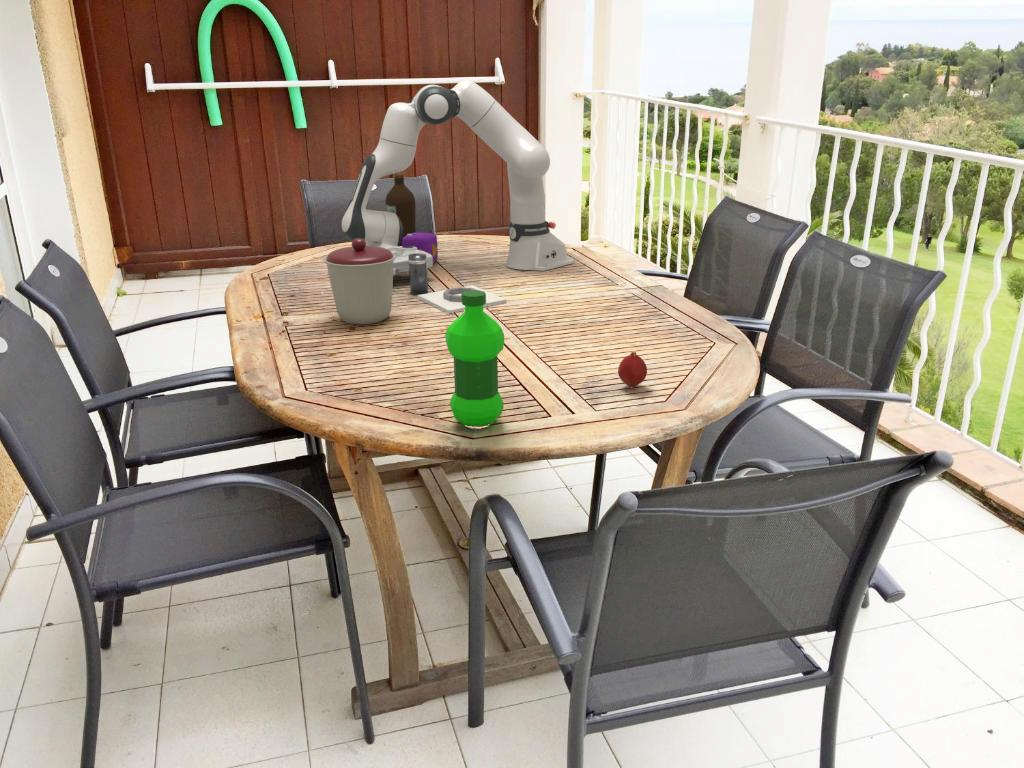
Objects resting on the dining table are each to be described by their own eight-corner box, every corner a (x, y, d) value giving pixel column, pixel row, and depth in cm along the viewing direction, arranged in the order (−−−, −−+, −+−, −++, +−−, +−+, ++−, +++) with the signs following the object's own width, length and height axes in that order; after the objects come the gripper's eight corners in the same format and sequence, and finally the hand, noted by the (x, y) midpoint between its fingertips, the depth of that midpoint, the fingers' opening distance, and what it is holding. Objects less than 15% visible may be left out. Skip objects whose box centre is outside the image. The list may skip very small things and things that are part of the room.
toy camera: (442, 257, 274) (440, 228, 270) (434, 267, 261) (433, 236, 257) (410, 257, 275) (409, 227, 271) (401, 267, 262) (399, 236, 258)
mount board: (473, 288, 237) (472, 280, 236) (506, 302, 223) (506, 294, 222) (418, 298, 228) (417, 289, 227) (449, 314, 214) (448, 305, 213)
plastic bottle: (453, 411, 155) (448, 285, 146) (508, 413, 154) (506, 286, 145) (444, 434, 146) (438, 300, 137) (502, 436, 145) (500, 301, 136)
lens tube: (423, 289, 236) (421, 252, 232) (431, 293, 232) (429, 255, 228) (407, 292, 234) (404, 254, 230) (415, 296, 230) (413, 258, 226)
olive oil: (408, 239, 301) (404, 170, 291) (423, 244, 293) (419, 173, 283) (383, 243, 295) (378, 173, 286) (396, 248, 287) (392, 176, 278)
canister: (357, 305, 222) (350, 229, 214) (413, 313, 214) (408, 234, 207) (315, 324, 207) (306, 242, 199) (373, 333, 199) (366, 249, 192)
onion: (614, 383, 168) (616, 346, 165) (642, 381, 168) (644, 345, 165) (620, 393, 163) (622, 356, 160) (648, 392, 163) (651, 355, 160)
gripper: (357, 254, 239) (377, 263, 228) (419, 245, 249) (441, 254, 238) (359, 275, 241) (378, 285, 231) (420, 265, 252) (442, 274, 241)
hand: (411, 269), depth 235 cm, fingers open, 8 cm apart
